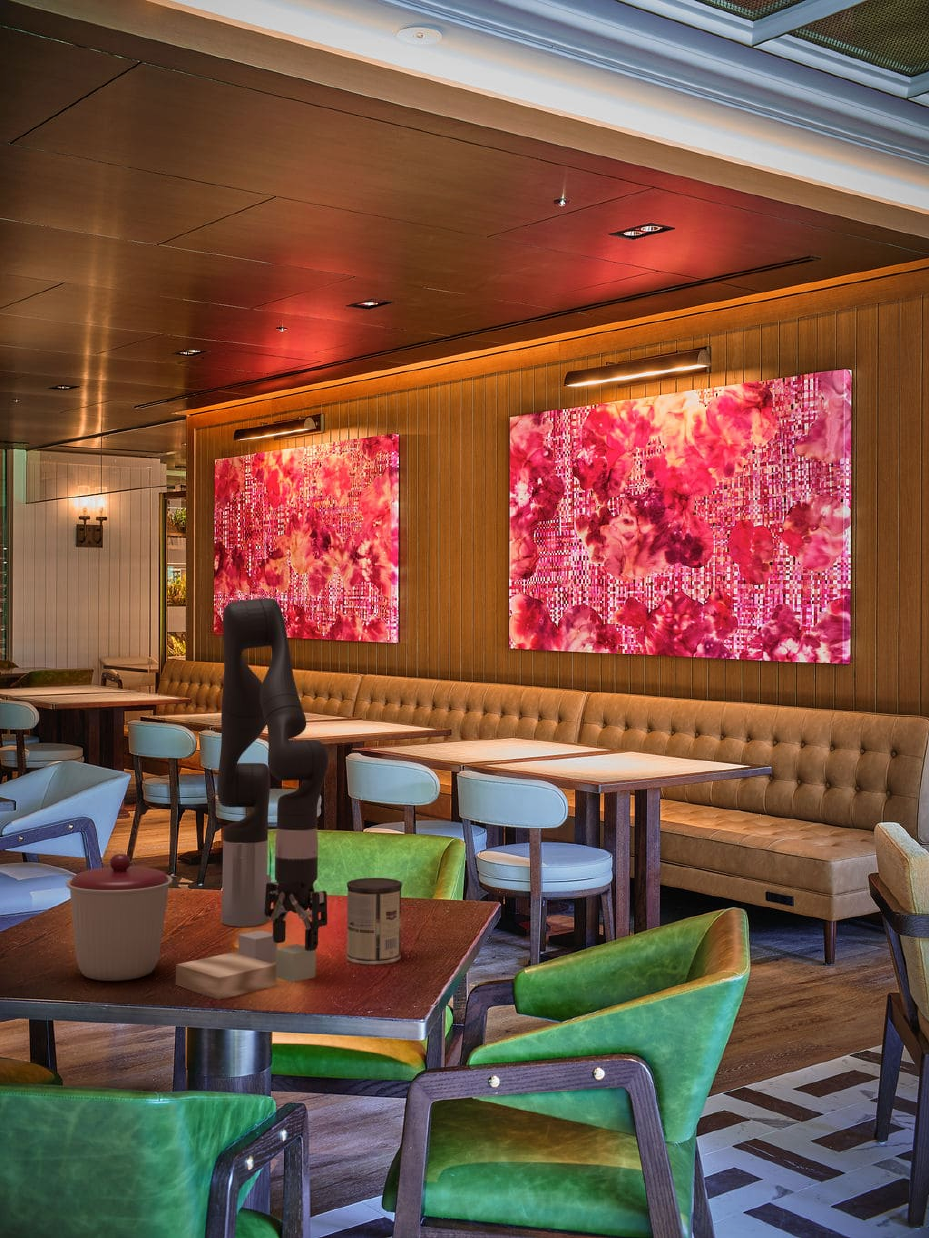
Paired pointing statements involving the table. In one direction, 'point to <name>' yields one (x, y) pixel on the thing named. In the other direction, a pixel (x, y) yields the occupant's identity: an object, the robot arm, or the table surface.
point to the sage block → (295, 963)
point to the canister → (118, 919)
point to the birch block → (226, 975)
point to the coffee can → (373, 920)
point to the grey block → (257, 945)
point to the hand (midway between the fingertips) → (294, 946)
